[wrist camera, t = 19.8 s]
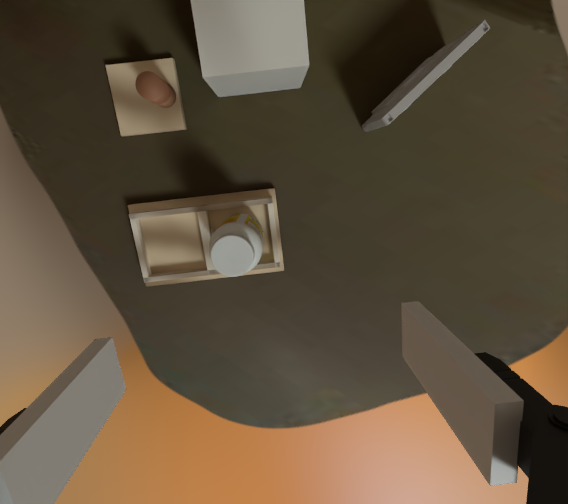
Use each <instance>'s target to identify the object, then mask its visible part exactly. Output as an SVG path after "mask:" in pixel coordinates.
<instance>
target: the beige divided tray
mask: <svg viewBox="0 0 568 504" xmlns="http://www.w3.org/2000/svg"><path fill="white" fill-rule="evenodd" d="M128 209H129V213H130V214H129V218H130V222H131V226H132V231H133V235H134V239H135V244H136V248H137V252H138V257H139V261H140V266H141V270H142V274H143V279H144V283H146V287H147V286H156V285H164V284H173V283H181V282H190V281H199V280H207V279H216V278H224V277H229V276H225V275H223V274H221V273H219V272H218V271H217V270H216V269H215V268H214V266H213V264H212V262H211V257H210V254H209V242H210V239H211V236H212V235H213V233H214V232H215V231H216V229H217V228H218V227H219V226H220V225H221V224H222V223H223V221H224V220H225V219H227V218H228V217H230V216H232V215H234V214H240V213H243V214H248V215H250V216H252V217H254V218H255V219H257V220H258V222H259V223H260V224H261V226H262V228H263V232H264V241H263V249H262V255H261V258H260V260H259V262H258V263H257V265H256V266H255V267H254V268H253V269H251V270H250V271H248V272H246V273H244V274H242V275H250V274H259V273H267V272H276V271H284V265H283V256H282V248H281V239H280V230H279V221H278V213H277V204H276V195H275V188H270V189H262V190H253V191H244V192H235V193H227V194H218V195H209V196H200V197H192V198H183V199H174V200H165V201H156V202H148V203H139V204H130V205H128ZM242 275H240V276H242Z"/></svg>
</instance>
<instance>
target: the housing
mask: <svg viewBox="0 0 568 504" xmlns="http://www.w3.org/2000/svg"><path fill="white" fill-rule="evenodd" d="M191 6H192V13H193V19H194V25H195V32H196V38H197V44H198V50H199V57H200V63H201V69H202V76H203V78H204V80H205V81H206V82H207V83H208V85H209V86H210V87H211V88H212V90H213V91H214V92H215V93H216V95H217V96H218V97H225V96H234V95H243V94H251V93H260V92H269V91H278V90H286V89H295V88H300V87H301V85H302V82H303V80H304V77H305V75H306V72H307V70H308V67H309V57H308V45H307V33H306V21H305V9H304V0H191Z"/></svg>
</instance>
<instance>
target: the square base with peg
mask: <svg viewBox="0 0 568 504" xmlns="http://www.w3.org/2000/svg"><path fill="white" fill-rule="evenodd" d="M105 66H106V70H107V75H108V79H109V84H110V88H111V93H112V97H113V102H114V106H115V111H116V115H117V120H118V124H119V129H120V133H121V136H132V135H141V134H150V133H159V132H168V131H177V130H186V129H187V128H186V122H185V117H184V111H183V105H182V99H181V94H180V88H179V82H178V76H177V71H176V65H175V60H174V59H173V58H166V59H157V60H148V61H139V62H130V63H121V64H112V65H105Z"/></svg>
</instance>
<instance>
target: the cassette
mask: <svg viewBox="0 0 568 504" xmlns="http://www.w3.org/2000/svg"><path fill="white" fill-rule="evenodd" d="M489 29H490V26H489V25H488V23H487V22H486V20H483V21H482V22H480V23H479V24H477V25H476V26H474V27H473V28H471V29H470V30H468V31H467V32H465V33H464V34H462V35H461V36H459V37H458V38H456V39H455V40H453V41H451V42H450V43H448V44H447V45H445V46H444V47H442V48H441V49H440V50H438V51H437V52H436V53H435V54H434V55H433V56H431V57H428V58H427V59H426V60H425V61H424V62H423V63H421V64H420V65H419V66H418V67H417V68H416V69H415V70H414V71H413V72H412V73H411V74H410V75H409V76H408V77H407V78H406V79H405V80H404V81H403V82H402V83H401V84H400V85H399V86H398V87H397V88H396V89H395V90H394V91H392V92H391V93H390V94H389V95H388V96H387V97H386V98H385V99H384V100H383V101H382V102H381V103H380V104H379V105H378V106H377V107H376V108H375V109H374V110H373V111H372V116H371V117H370V118H369V119H368V120H367V121H366V122H365V123H364V124H363V125H362V126H361V127H362V129H363V130H364V131H366V132H368V131H371V130H374V129H377V128H381V127H384V126H387V125H389V124H390V123H391V122H392V121H393V120H394V119H395V118H396V117H397V116H398V115H399V114H401V113H402V112H403V111H404V110H406V109H407V108H408V107H409V106H410V105H411V103H412V102H413V101H414V100H415V99H416V98H417V97H418V96H420V95H421V94H422V93H423V92H424V91H425V90H426V89H427V88H428V87H429V86H430V85H431V84H432V83H433V82H434V81H435V80H436V79H437V78H439V77H440V76H441V75H442V74H443V73H444V72H446V71H447V70H448V69H449V68H450V67H451V66H452V64H453V63H454V62H455V61H456V60H458V59H459V58H460V57H461V56H462V55H463V54H464V53H465V52H466V51H467V50H468V49H469V48H470V47H471V46H472V45H473V44H474V43H475V42H477V41H478V40H479V39H480V38H481V37H482V35H484V34H485V33H486V32H487V31H488V30H489Z"/></svg>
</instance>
